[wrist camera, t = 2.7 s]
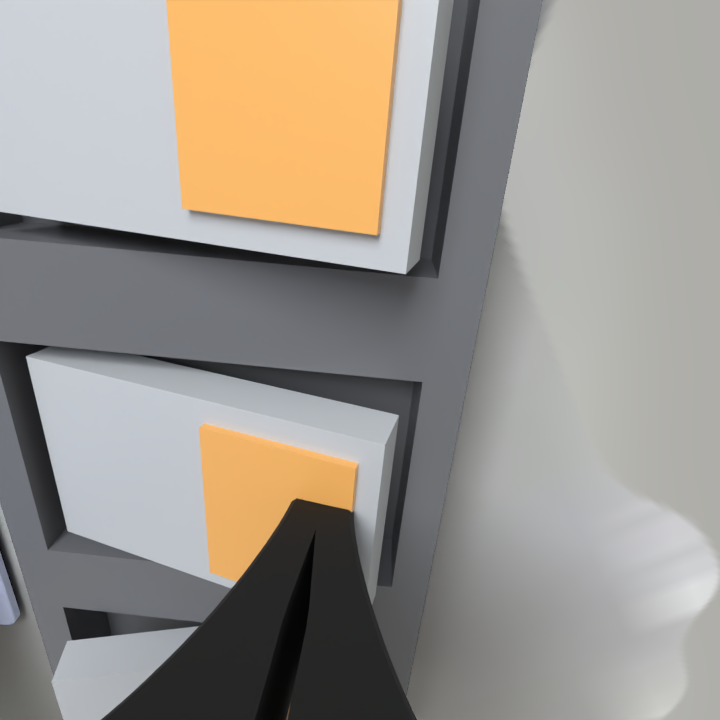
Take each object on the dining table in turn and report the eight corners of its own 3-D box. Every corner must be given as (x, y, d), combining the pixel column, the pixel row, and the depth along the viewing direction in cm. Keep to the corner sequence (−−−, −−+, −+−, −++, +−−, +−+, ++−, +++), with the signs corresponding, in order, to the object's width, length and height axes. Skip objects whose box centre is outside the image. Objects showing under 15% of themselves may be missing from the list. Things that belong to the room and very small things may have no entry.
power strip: (134, 640, 22) (77, 752, 18) (-18, -183, 11) (-274, -387, 6) (388, 669, 22) (387, 788, 18) (522, -143, 10) (607, -331, 6)
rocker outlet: (41, 204, 11) (-19, 211, 10) (-22, -113, 9) (-110, -156, 8) (419, 260, 9) (403, 277, 8) (472, -143, 7) (460, -211, 5)
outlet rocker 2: (95, 745, 17) (82, 795, 15) (67, 641, 14) (48, 689, 13) (348, 706, 18) (354, 748, 17) (359, 608, 16) (367, 647, 15)
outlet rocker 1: (99, 504, 15) (61, 536, 14) (67, 339, 12) (18, 359, 11) (375, 594, 13) (360, 641, 11) (399, 415, 10) (382, 450, 9)
